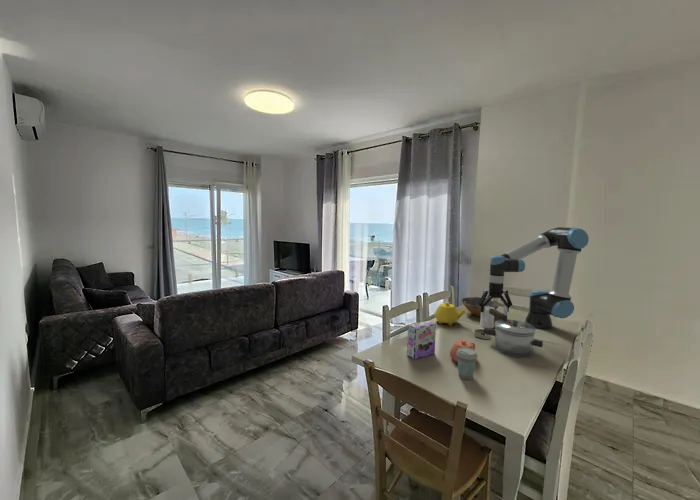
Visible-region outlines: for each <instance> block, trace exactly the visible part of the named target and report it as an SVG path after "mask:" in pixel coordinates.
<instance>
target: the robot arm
mask: <svg viewBox="0 0 700 500" xmlns="http://www.w3.org/2000/svg"><path fill="white" fill-rule="evenodd" d="M589 241H590V240H589V235H588V233H587V231H586V230H584V229H583V228H579V227H562V226H561V227H560V226H558V227H555V228H551V229H549V230H547V231H545V232H543V233H540V234H538V235H537V237H536V238H534V239H531V240H529V241H528V242H525V243H523V244H521V245H520V246H517V247H515V248H514V249H513V248H512V249H511V250H508V251H507V252H505V253H502V254H500V255H492V256H491V257H490V264H489V265H490V267H489V283H488V289H489V290H487V289H483V292H482V295H481V297H480V298H481V299H480V300H479V302H478V305H479V306H481V312H482V317H483V318H485V311H486V307H485V306H486V304H487V303H488V302H489V301H490V300H493V299H500V301H501V302H502V303H503V304H504V305H503V314H504V315H506V316H507V317H508V313H509V311H510V308H511V306H513V303H512V300H511V297H510V295H509V291H508V290H507V289H504V282H505V273H522V272H524V271H525V269H526V263H525V261H524V260H523V259H524V258H526V257H529V256H530V255H532V254H535V253H536V252H538V251H541V250H542V249H548V248H551V247H557V248H556V249H557V251H558V258H557V263H556V267H555V272H554V277H553V283H552V287H551V290H544V289H543V290H542V289H536V290H535V289H534V290H531V291H530V295H529V309H528V310H529V311H528V313H527V316H526V318H525V321H524V322H526V323H528V324H531V325H533V326H534V327H535V328H536V329H541V330H549V329H553V321H552V318H551V316H552V317H554V318H559V319H568V318H569V317H571V316H572V314H573V313H574V311H575V305H574V303H573V302H572V301H571V300H572V296H571V295H570V290H571V284H572V280H573V275H574V270H575V266H576V265H575V264H576V260H577V256H578V254H580V253H582V249H585V247H586V246H587V245H588V244H589ZM503 294H504V296H503ZM504 297H505V298H504ZM485 298H486V299H485Z"/></svg>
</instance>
